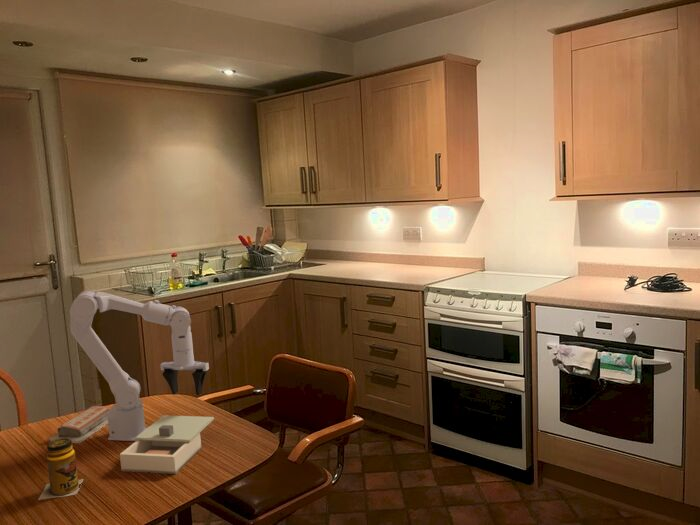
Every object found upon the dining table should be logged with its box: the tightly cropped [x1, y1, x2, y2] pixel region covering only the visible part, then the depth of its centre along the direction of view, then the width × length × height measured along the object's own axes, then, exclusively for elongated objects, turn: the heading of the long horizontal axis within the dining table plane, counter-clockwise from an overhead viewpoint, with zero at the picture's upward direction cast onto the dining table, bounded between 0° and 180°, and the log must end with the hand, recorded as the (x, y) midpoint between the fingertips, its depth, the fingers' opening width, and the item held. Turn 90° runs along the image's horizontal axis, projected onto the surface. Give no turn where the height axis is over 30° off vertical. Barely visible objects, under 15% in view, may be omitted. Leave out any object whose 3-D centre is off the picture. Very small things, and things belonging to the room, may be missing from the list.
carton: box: [119, 432, 202, 475], centre depth 151 cm, size 15×14×4 cm
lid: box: [135, 414, 215, 442], centre depth 158 cm, size 16×15×3 cm
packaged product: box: [49, 405, 110, 444], centre depth 173 cm, size 18×5×10 cm
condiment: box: [37, 438, 84, 501], centre depth 137 cm, size 7×8×12 cm
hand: (187, 393), depth 171 cm, fingers open, 7 cm apart
